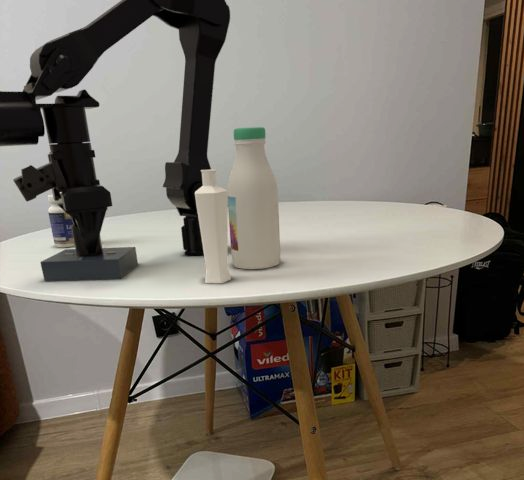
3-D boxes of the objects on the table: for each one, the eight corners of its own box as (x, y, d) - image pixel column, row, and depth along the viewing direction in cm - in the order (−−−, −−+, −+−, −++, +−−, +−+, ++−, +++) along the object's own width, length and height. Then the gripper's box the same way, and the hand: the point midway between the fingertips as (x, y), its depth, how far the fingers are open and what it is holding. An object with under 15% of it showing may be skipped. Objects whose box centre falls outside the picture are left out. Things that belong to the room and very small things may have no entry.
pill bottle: (74, 247, 100) (64, 196, 96) (49, 248, 101) (38, 196, 97) (89, 242, 105) (80, 192, 101) (65, 242, 106) (55, 193, 102)
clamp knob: (74, 253, 80) (69, 222, 78) (100, 249, 81) (95, 219, 79) (78, 257, 76) (72, 225, 74) (105, 254, 78) (99, 222, 76)
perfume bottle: (207, 286, 69) (196, 171, 63) (197, 279, 73) (187, 170, 67) (237, 281, 71) (230, 169, 65) (227, 274, 75) (219, 168, 69)
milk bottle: (287, 260, 82) (284, 126, 74) (268, 271, 75) (262, 126, 67) (245, 257, 85) (237, 128, 77) (223, 268, 78) (212, 129, 70)
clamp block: (138, 264, 84) (135, 245, 82) (121, 278, 75) (117, 258, 74) (68, 266, 84) (64, 248, 83) (44, 281, 76) (39, 260, 75)
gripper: (8, 146, 77) (30, 247, 83) (10, 146, 61) (38, 270, 68) (83, 143, 81) (99, 239, 88) (103, 141, 66) (121, 259, 72)
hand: (89, 250), depth 79 cm, fingers closed on clamp knob, 4 cm apart
